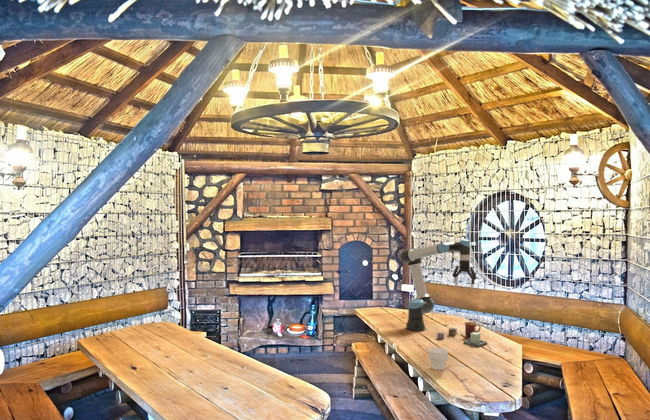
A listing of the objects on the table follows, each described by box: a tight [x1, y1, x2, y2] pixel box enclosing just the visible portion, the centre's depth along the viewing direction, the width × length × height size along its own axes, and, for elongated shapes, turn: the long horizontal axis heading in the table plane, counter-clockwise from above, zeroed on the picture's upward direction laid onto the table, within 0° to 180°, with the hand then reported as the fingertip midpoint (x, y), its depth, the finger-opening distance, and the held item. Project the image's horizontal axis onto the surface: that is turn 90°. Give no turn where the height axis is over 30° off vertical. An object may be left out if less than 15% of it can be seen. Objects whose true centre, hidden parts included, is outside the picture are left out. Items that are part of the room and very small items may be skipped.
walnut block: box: [448, 327, 458, 337], centre depth 401 cm, size 5×5×5 cm
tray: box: [463, 338, 488, 348], centre depth 377 cm, size 12×12×2 cm
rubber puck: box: [436, 331, 445, 340], centre depth 390 cm, size 5×5×4 cm
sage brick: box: [469, 332, 481, 344], centre depth 377 cm, size 5×5×7 cm
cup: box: [428, 346, 449, 371], centre depth 322 cm, size 12×12×11 cm
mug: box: [464, 321, 481, 338], centre depth 397 cm, size 12×9×10 cm
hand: (464, 287), depth 404 cm, fingers open, 13 cm apart
